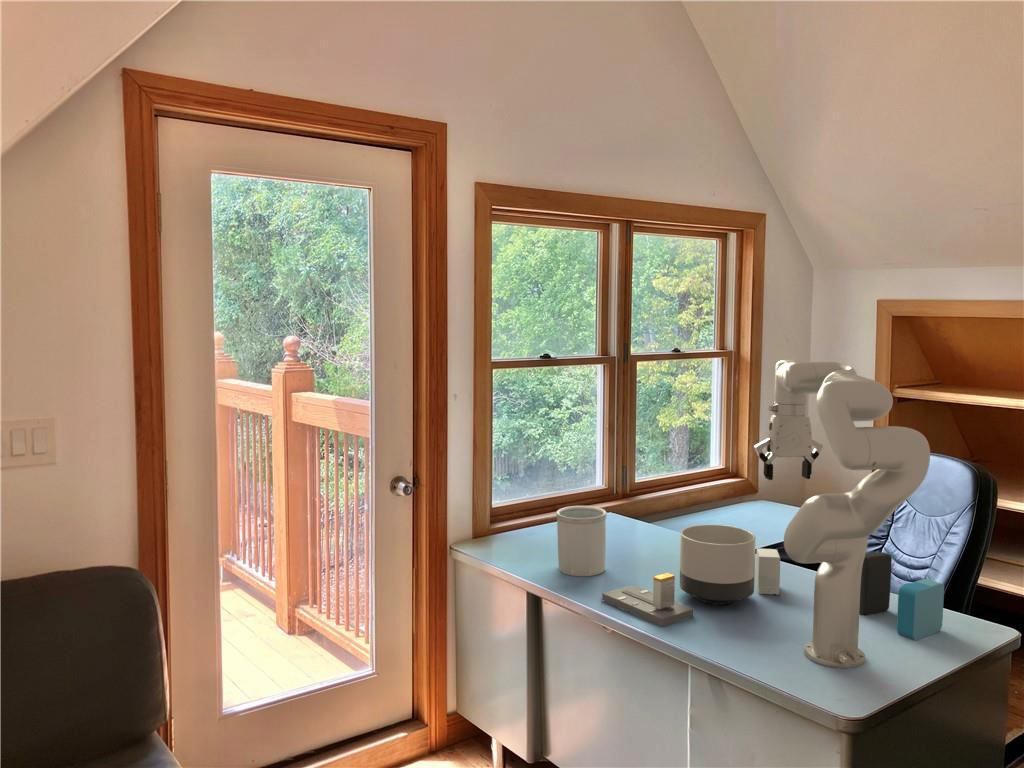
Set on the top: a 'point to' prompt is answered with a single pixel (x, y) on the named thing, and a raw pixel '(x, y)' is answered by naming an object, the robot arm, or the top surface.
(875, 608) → the card reader
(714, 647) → the top surface
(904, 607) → the data package
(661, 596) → the fader tab
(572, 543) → the utensil holder
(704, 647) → the top surface
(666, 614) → the console board
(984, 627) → the top surface
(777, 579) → the small box
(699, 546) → the planter
